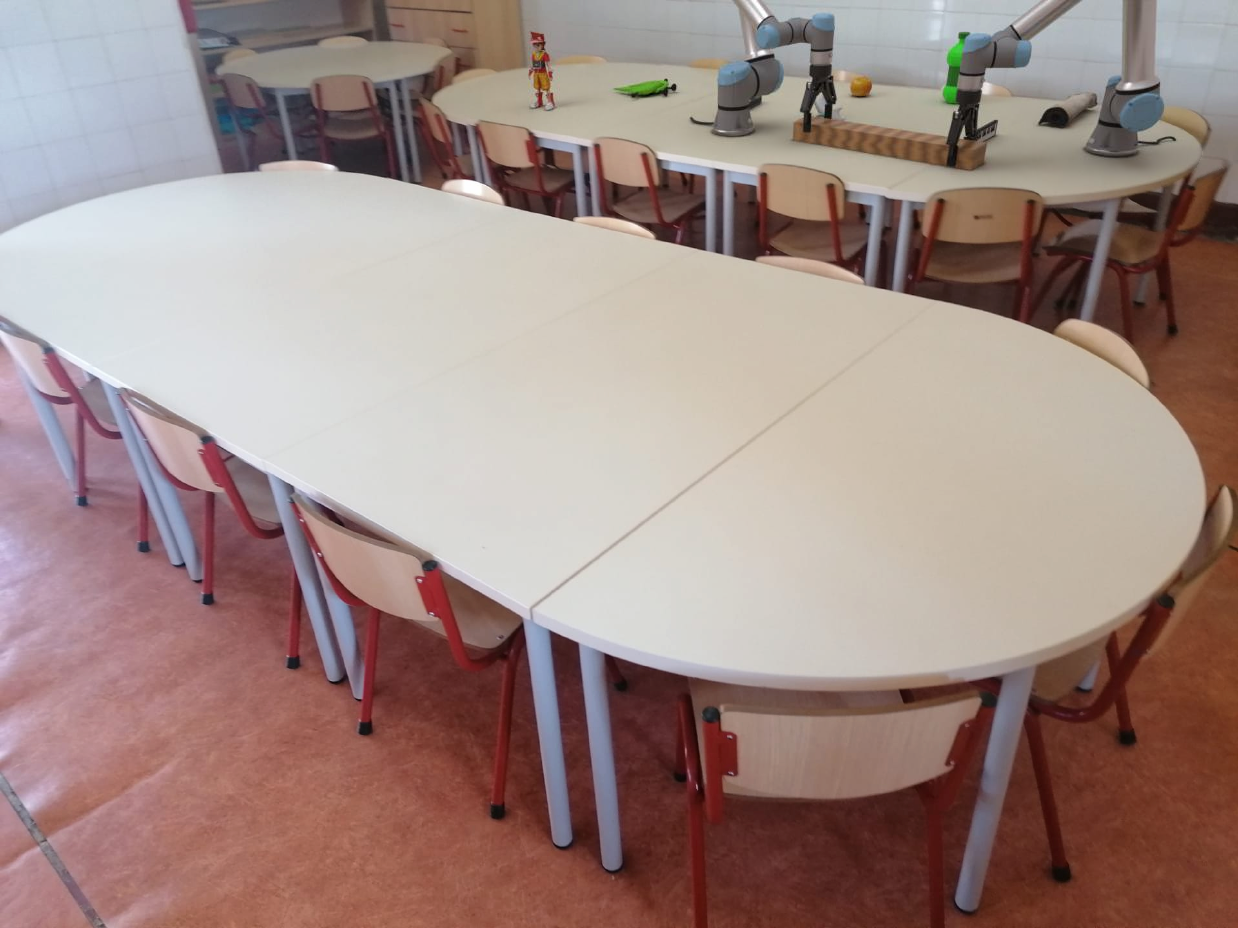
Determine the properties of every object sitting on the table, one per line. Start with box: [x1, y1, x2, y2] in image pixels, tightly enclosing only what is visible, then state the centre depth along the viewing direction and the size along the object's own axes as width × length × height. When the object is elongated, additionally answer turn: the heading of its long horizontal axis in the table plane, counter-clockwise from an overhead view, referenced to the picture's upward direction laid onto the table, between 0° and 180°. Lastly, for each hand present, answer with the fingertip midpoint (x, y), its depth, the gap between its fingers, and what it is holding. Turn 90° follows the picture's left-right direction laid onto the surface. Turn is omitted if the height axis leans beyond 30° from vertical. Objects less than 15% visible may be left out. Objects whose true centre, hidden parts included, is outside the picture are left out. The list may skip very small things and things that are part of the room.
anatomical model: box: [813, 93, 847, 121], centre depth 342 cm, size 15×10×10 cm
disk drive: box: [749, 96, 763, 110], centre depth 366 cm, size 10×3×15 cm
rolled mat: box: [1037, 91, 1098, 128], centre depth 327 cm, size 30×9×10 cm
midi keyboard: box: [972, 119, 999, 142], centre depth 308 cm, size 18×1×5 cm, turn 138°
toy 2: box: [612, 78, 677, 99], centre depth 396 cm, size 28×5×30 cm
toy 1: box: [527, 31, 556, 111], centre depth 374 cm, size 12×9×30 cm
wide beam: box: [792, 115, 988, 171], centre depth 305 cm, size 67×9×6 cm, turn 47°
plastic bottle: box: [942, 31, 971, 104], centre depth 348 cm, size 10×10×25 cm
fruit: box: [849, 76, 873, 97], centre depth 369 cm, size 8×8×8 cm
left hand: (817, 128), depth 320 cm, fingers open, 13 cm apart
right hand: (957, 161), depth 291 cm, fingers closed on wide beam, 9 cm apart
